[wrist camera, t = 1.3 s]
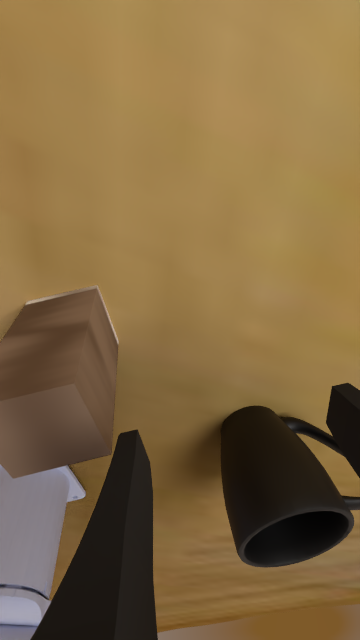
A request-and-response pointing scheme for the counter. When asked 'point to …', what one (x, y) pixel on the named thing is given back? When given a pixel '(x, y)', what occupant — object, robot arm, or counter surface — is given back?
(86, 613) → the robot arm
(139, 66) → the counter surface
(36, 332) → the walnut block
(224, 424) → the mug
